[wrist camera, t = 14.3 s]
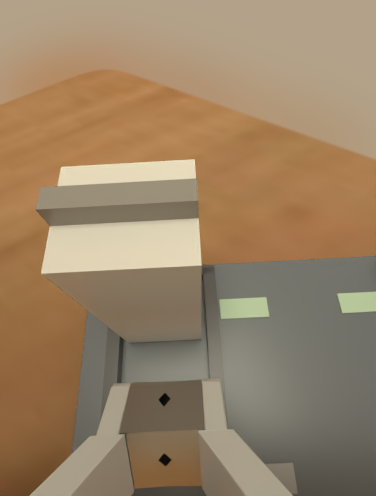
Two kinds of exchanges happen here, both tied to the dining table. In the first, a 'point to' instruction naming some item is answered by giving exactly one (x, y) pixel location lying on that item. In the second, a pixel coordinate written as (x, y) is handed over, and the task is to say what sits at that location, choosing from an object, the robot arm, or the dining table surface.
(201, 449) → the robot arm
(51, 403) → the dining table surface
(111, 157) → the dining table surface
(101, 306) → the tab
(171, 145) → the dining table surface
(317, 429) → the grey rectangular board
